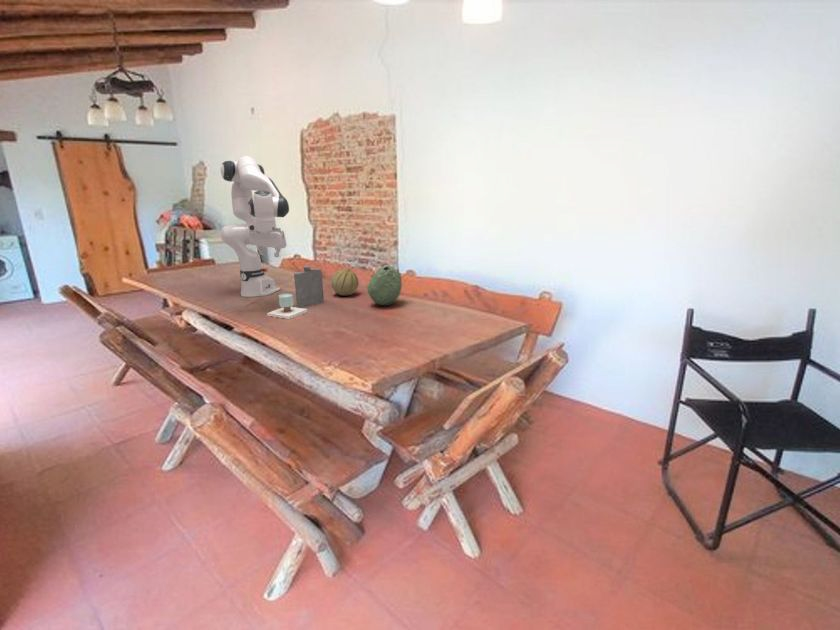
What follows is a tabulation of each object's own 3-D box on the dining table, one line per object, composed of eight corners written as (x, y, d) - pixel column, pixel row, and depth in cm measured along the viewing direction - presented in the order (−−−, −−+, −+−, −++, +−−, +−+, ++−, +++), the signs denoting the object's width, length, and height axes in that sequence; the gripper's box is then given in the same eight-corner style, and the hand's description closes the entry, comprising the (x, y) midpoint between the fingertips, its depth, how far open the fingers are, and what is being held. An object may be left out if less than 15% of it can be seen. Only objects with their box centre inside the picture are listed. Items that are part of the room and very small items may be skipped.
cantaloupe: (329, 293, 246) (327, 267, 241) (354, 290, 252) (353, 265, 247) (336, 299, 233) (334, 272, 228) (362, 296, 239) (361, 269, 234)
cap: (285, 302, 212) (284, 292, 210) (296, 304, 209) (295, 294, 208) (276, 305, 206) (275, 296, 205) (287, 307, 204) (286, 297, 202)
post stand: (286, 308, 217) (284, 292, 215) (307, 312, 212) (305, 295, 209) (267, 316, 206) (265, 298, 204) (288, 319, 201) (287, 301, 198)
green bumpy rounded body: (361, 306, 220) (359, 267, 214) (386, 298, 235) (384, 261, 229) (384, 311, 211) (383, 271, 205) (408, 303, 226) (408, 264, 220)
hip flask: (299, 308, 218) (295, 269, 212) (294, 307, 220) (291, 268, 214) (325, 301, 229) (322, 264, 224) (320, 300, 232) (317, 263, 226)
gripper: (288, 227, 204) (290, 256, 208) (255, 224, 212) (258, 252, 217) (278, 229, 198) (281, 259, 203) (245, 226, 206) (248, 254, 211)
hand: (269, 255), depth 210 cm, fingers open, 8 cm apart
